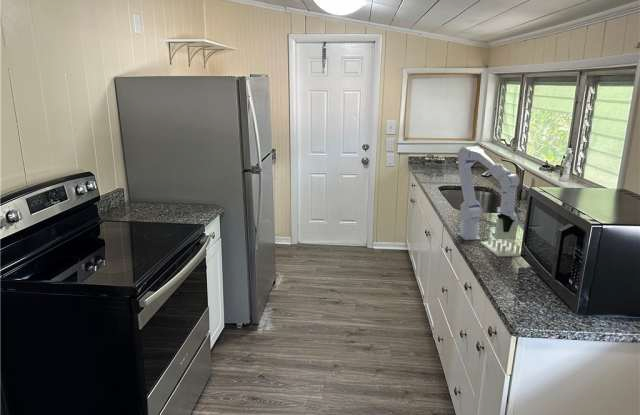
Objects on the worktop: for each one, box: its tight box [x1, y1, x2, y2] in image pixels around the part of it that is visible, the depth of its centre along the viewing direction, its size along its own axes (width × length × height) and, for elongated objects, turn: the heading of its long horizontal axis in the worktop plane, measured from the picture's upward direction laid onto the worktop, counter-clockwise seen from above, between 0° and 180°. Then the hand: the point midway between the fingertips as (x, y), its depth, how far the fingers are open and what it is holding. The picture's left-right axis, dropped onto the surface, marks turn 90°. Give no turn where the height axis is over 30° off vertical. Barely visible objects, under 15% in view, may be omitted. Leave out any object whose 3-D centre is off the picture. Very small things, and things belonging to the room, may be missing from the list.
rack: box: [480, 235, 522, 257], centre depth 197 cm, size 17×13×4 cm
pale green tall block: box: [493, 218, 519, 240], centre depth 195 cm, size 2×9×9 cm, turn 94°
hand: (504, 231), depth 195 cm, fingers closed on pale green tall block, 2 cm apart
